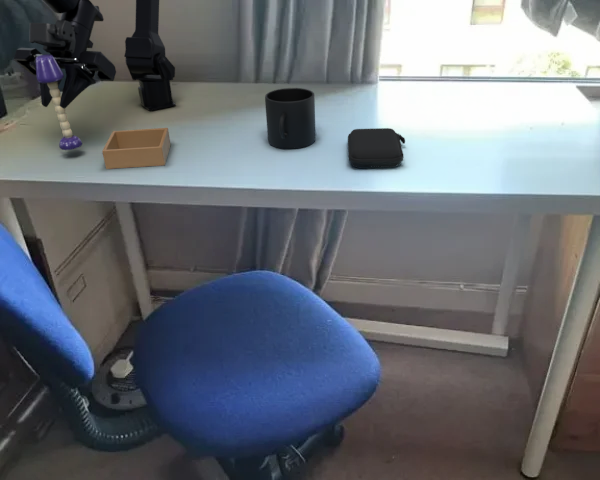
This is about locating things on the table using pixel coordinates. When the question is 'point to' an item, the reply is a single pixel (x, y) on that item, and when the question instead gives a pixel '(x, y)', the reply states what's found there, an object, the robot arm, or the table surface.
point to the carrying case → (375, 148)
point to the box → (137, 148)
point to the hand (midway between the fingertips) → (53, 106)
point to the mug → (290, 117)
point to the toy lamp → (56, 97)
